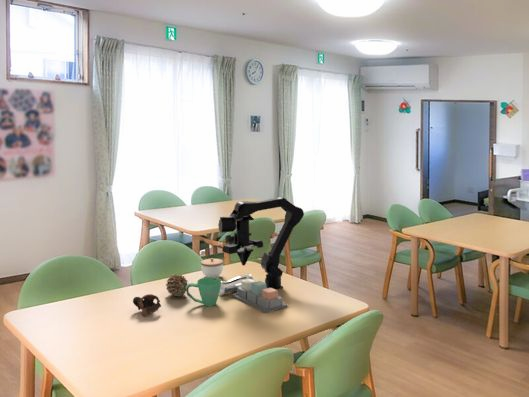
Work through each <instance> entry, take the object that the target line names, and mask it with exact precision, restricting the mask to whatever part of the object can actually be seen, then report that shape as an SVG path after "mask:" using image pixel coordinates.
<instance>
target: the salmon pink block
mask: <svg viewBox="0 0 529 397" xmlns="http://www.w3.org/2000/svg"><path fill="white" fill-rule="evenodd" d="M277 296H278V289H273V288H266V289H263V290H262V298H264V299H266V300H272V299H276V298H277Z"/></svg>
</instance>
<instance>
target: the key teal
mask: <svg viewBox="0 0 529 397" xmlns="http://www.w3.org/2000/svg"><path fill="white" fill-rule="evenodd" d="M263 289H267V288H266V283H265V281H260V280H258V281H256V282H253V283H251V293H253V294H255V295H261V294H262V290H263Z"/></svg>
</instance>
